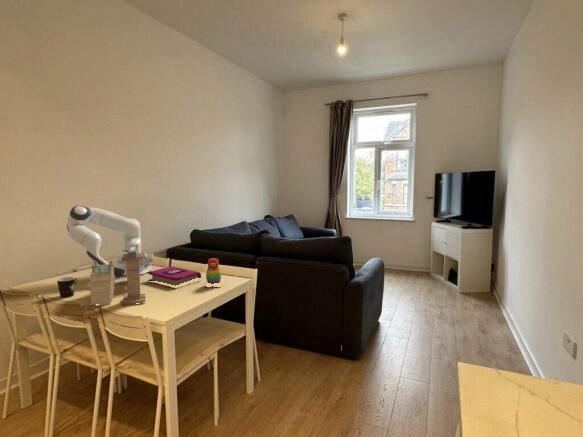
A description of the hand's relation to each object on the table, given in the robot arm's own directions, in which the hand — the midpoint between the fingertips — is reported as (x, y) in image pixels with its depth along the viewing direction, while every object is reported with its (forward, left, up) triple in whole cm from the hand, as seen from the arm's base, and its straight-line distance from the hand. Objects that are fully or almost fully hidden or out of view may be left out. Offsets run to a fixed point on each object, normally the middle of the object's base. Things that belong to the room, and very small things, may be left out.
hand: (134, 254), depth 201 cm
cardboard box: (+19, -4, -22) cm, 29 cm away
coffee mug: (+23, -26, -22) cm, 41 cm away
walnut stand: (+15, +15, -22) cm, 30 cm away
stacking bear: (-28, +36, -22) cm, 51 cm away
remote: (+13, +13, +4) cm, 18 cm away
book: (-25, +8, -23) cm, 34 cm away
